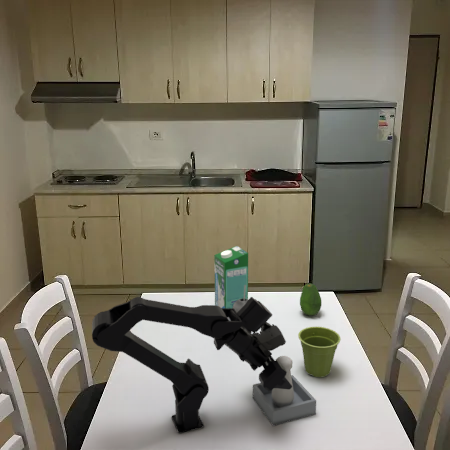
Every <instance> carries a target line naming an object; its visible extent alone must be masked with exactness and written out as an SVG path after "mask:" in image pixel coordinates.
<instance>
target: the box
mask: <svg viewBox="0 0 450 450" xmlns="http://www.w3.org/2000/svg"><path fill="white" fill-rule="evenodd" d="M291 377H292V384H293V390H294V400H293V401H292V403H291V404H290V405H289V406H285V407H281V408H280V407H277V406H276V405H275V402H274V400H273V399H272V390H273V389H272V390H271V391H267V390H266V389H265V388H264V387H263V386H262V384H261V382H258V383H255V384H254V383H253V384H252V400H254V402H255V403H256V405H257V406H258V408H259V409H260V410H261V411H262V413H263V415H264V416H265V417H266V418H267V420H268V421H269V422H270V423H271V425H272V427H274V426H279V425H281V424H282V425H283V424H285V423H290V422H293V421H295V420H299V419H303V418H306V417H311V416H314V415H316V414H317V413H316V412H317V399H316V398H315V397H314V396H313V395H312V394H311V393H310V392H309V391H308V389H306V388H305V386H304V385H303V384H302V383H300V381H299V380H298V379H297V378H296V377H295V376H294V374H293V375H292V374H291Z"/></svg>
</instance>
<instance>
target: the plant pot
mask: <svg viewBox="0 0 450 450" xmlns="http://www.w3.org/2000/svg"><path fill="white" fill-rule="evenodd" d="M297 336H298V339H299V340H300V345H301V347H302V348H301V349H302V355H303V356H302V358H303V362H304V363H303V364H304V369H305V370H304V371H305V372H306V373H307V374H308V375H311V376H312V377H315V378H324V377H327V376H328V375H329V374H330V373H331V370H332V365H333V362H334V358H335V353H336V351H337V348H338V345H339V344H340V342H341V340H342V339H341V336H340V334H339V333H338V332H336V331H335V330H334V329H330V328H328V327H325V326H323V327H322V326H309V327H308V326H307V327H305V328H302V329H301V330H300V331H299V332H298V334H297Z"/></svg>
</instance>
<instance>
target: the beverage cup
mask: <svg viewBox="0 0 450 450" xmlns="http://www.w3.org/2000/svg"><path fill="white" fill-rule="evenodd" d="M245 291H246V285H244V298H242V299H239V300H237V301H236V302H235V303H234V305H233V308H234V309H235V310H236V312H238V311H239V310H240V309H241V308H242V307H243V306H244V305H245V304H246V303H247V301H248V300H249V298H248V299H245ZM242 328H243V329H244V330H245V331H247V332H248V333H249V334H250V333H251V334H252V333H253V332H252V331H251V332H249V331H248V330H247V329H245V328H244V327H243V326H242Z"/></svg>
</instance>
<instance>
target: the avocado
mask: <svg viewBox="0 0 450 450" xmlns="http://www.w3.org/2000/svg"><path fill="white" fill-rule="evenodd" d="M299 298H300V299H299V307H300V309H301V312H302V313H303V314H305V315H306V316H315V315H317V314H318V313H319V312H320V311H321V309H322V297H321V294H320V291H319V289H318V288H317V286H316V285H315V284H313V283H307V284H305V285H304V286H303V288H302V290H301V293H300V297H299Z"/></svg>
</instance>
